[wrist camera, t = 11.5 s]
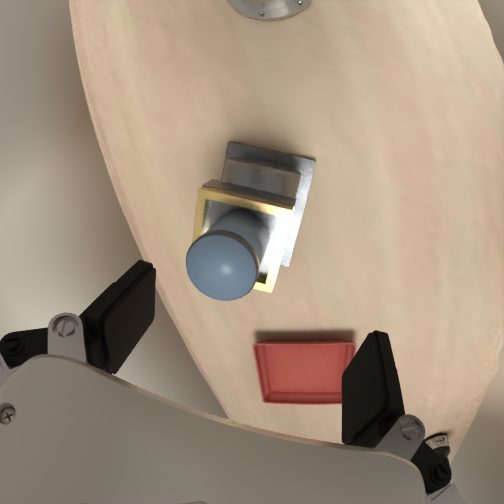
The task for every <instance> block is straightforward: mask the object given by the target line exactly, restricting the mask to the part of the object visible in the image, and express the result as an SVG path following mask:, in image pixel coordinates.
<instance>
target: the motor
mask: <svg viewBox="0 0 504 504" xmlns="http://www.w3.org/2000/svg"><path fill="white" fill-rule="evenodd" d="M315 163H316V160H312V159H308V158H304V157H300V156H296V155H292V154H287V153H283V152H279V151H274V150H270V149H265V148H260V147H255V146H250V145H245V144H240V143H235V142H228V146H227V151H226V157H225V163H224V169H223V175H222V181H218V180H213V179H212V180H210V181H209V182H207V183H205V184H203V186H202V187H201V188H199V191H198V198H197V206H196V214H195V223H194V232H193V241H192V243H193V242H194V241H195V240H196V239H197V238H198V237H199V236H201V235H202V234H204V233H206V231H207V230H208V229H209V228H210V227H211V226H212V225H213V224H214V223H215V222H216V221H217V220H218V219H219V218H220V217H221V216H223V215H224V214H226V213H228V212H231V211H245V212H248V213H251V214H253V215H254V216H256V217H257V218H258V219H259V220H260V221H261V222H262V223H263V224H264V226H265V228H266V230H267V233H268V246H267V249H266V252H265V255H264V257H263V260H262V263H261V265H260V270H259V275H258V278H257V281H256V283H255V285H254V287H253V288H255V289H259V290H263V291H266V292H270V293H271V292H272V289H273V287H274V285H275V281H276V277H277V273H278V270H279V266H280V265H283V266H287V267H288V266H289V263H290V259H291V256H292V252H293V248H294V245H295V241H296V237H297V234H298V230H299V226H300V222H301V219H302V215H303V211H304V207H305V203H306V199H307V195H308V191H309V188H310V184H311V180H312V175H313V171H314V167H315Z"/></svg>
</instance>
